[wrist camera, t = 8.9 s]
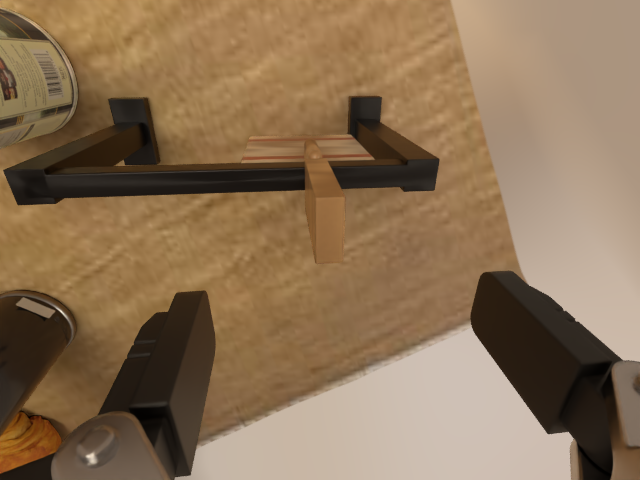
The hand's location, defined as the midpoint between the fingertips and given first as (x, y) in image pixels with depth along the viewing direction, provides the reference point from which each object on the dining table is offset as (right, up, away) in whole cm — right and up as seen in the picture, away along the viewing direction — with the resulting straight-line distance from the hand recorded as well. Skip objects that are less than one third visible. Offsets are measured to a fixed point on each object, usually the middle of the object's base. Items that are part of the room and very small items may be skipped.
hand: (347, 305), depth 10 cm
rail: (-7, +13, +25) cm, 29 cm away
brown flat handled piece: (-2, +11, +21) cm, 24 cm away
